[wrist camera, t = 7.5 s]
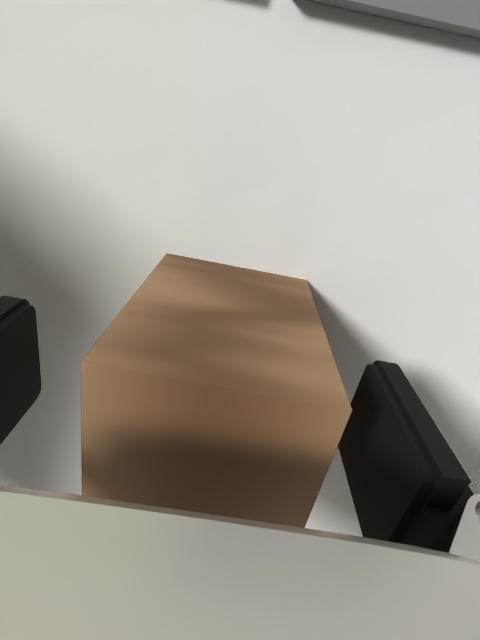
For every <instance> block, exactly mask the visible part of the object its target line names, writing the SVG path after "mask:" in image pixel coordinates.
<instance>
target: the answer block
mask: <svg viewBox="0 0 480 640" xmlns="http://www.w3.org/2000/svg"><path fill="white" fill-rule="evenodd" d="M351 412H352V408H351V405H350V402H349V399H348V397H347V394H346V391H345V388H344V385H343V382H342V379H341V376H340V374H339V371H338V368H337V365H336V362H335V359H334V356H333V353H332V351H331V348H330V345H329V342H328V339H327V336H326V333H325V330H324V328H323V325H322V322H321V319H320V316H319V313H318V310H317V307H316V305H315V302H314V299H313V296H312V293H311V290H310V287H309V284H308V282H307V280H303V279H298V278H293V277H287V276H282V275H277V274H272V273H266V272H261V271H256V270H251V269H246V268H240V267H235V266H230V265H225V264H219V263H214V262H209V261H204V260H199V259H193V258H188V257H183V256H178V255H173V254H166V255H165V256H164V258H163V259H162V260H161V261H160V263H159V264H158V265H157V266H156V268H155V269H154V270H153V271H152V273H151V274H150V275H149V276H148V278H147V279H146V280H145V282H144V283H143V284H142V285H141V287H140V288H139V289H138V290H137V292H136V293H135V294H134V295H133V297H132V298H131V299H130V300H129V302H128V303H127V304H126V306H125V307H124V308H123V309H122V311H121V312H120V313H119V314H118V316H117V317H116V318H115V319H114V321H113V322H112V323H111V324H110V326H109V327H108V328H107V330H106V331H105V332H104V333H103V335H102V336H101V337H100V338H99V340H98V341H97V342H96V343H95V345H94V346H93V347H92V348H91V350H90V351H89V352H88V354H87V355H86V356H85V357H84V359H83V360H82V361H81V447H82V496H86V497H93V498H100V499H107V500H114V501H121V502H128V503H135V504H143V505H150V506H157V507H164V508H171V509H178V510H184V511H191V512H198V513H205V514H212V515H219V516H226V517H233V518H240V519H246V520H253V521H260V522H267V523H273V524H280V525H287V526H293V527H300V528H304V527H305V525H306V522H307V520H308V517H309V515H310V513H311V510H312V508H313V505H314V503H315V500H316V498H317V495H318V493H319V490H320V488H321V485H322V483H323V481H324V478H325V476H326V473H327V471H328V468H329V466H330V463H331V461H332V458H333V456H334V454H335V451H336V449H337V446H338V444H339V441H340V439H341V436H342V434H343V431H344V429H345V427H346V424H347V422H348V419H349V417H350V414H351Z"/></svg>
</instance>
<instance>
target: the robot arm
mask: <svg viewBox="0 0 480 640" xmlns="http://www.w3.org/2000/svg"><path fill="white" fill-rule="evenodd" d="M40 390H41V375H40V362H39V349H38V336H37V323H36V311H35V308H34V307H33V306H30V304H29V302H28V301H27V300H26V299H20V298H14V297H9V296H1V297H0V444H1V443H2V442H3V441H4V439H5V438H6V437H7V436H8V434H9V433H10V432H11V430H12V429H13V428H14V427H15V425H16V424H17V423H18V422H19V420H20V419H21V418H22V417H23V415H24V414H25V413H26V412H27V410H28V409H29V408H30V407H31V405H32V404H33V403H34V401H35V400H36V399H37V397H38V396H39V394H40ZM350 405H351V408H352V412H351V414H350V417H349V419H348V422H347V424H346V427H345V429H344V431H343V434H342V436H341V439H340V441H339V444H338V447H339V451H340V455H341V458H342V462H343V466H344V469H345V473H346V476H347V480H348V484H349V487H350V491H351V495H352V498H353V502H354V505H355V509H356V513H357V516H358V520H359V524H360V527H361V531H362V534H363V537H359V536H353V535H347V534H340V533H334V532H327V531H320V530H314V529H307V528H300V527H293V526H287V525H280V524H273V523H267V522H260V521H253V520H246V519H240V518H233V517H226V516H219V515H212V514H205V513H198V512H191V511H184V510H178V509H171V508H164V507H157V506H150V505H143V504H135V503H128V502H121V501H114V500H107V499H100V498H93V497H86V496H79V495H71V494H64V493H57V492H50V491H42V490H35V489H28V488H21V487H13V486H6V485H0V640H480V494H476V495H474V494H473V493H472V491H471V489H470V488H469V486H468V485H469V484H470V482H471V481H470V479H469V477H468V476H467V474H466V473H465V471H464V469H463V468H462V466H461V465H460V463H459V461H458V460H457V458H456V457H455V455H454V453H453V452H452V450H451V449H450V447H449V445H448V444H447V442H446V441H445V439H444V437H443V436H442V434H441V433H440V431H439V429H438V428H437V426H436V425H435V423H434V421H433V420H432V418H431V417H430V415H429V413H428V412H427V410H426V409H425V407H424V405H423V404H422V402H421V401H420V399H419V397H418V396H417V394H416V393H415V391H414V389H413V388H412V386H411V385H410V383H409V381H408V380H407V378H406V377H405V375H404V373H403V372H402V370H401V369H400V367H399V366H398V365H397V364H395V363H389V362H383V361H378V360H377V361H375V362H374V363H373V364H372V365H371V364H369V365H367V366H366V368H365V370H364V373H363V375H362V378H361V380H360V382H359V385H358V387H357V390H356V392H355V395H354V397H353V399H352V402H351V404H350Z"/></svg>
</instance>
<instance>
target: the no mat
mask: <svg viewBox="0 0 480 640" xmlns="http://www.w3.org/2000/svg"><path fill="white" fill-rule="evenodd" d="M310 1H315V2H319V3H323V4H328V5H332V6H337V7H341V8H346V9H350V10H355V11H359V12H364V13H368V14H372V15H377V16H381V17H386V18H390V19H395V20H399V21H404V22H408V23H412V24H417V25H421V26H426V27H430V28H435V29H439V30H444V31H448V32H453V33H457V34H461V35H466V36H470V37H475V38H479V39H480V0H310Z"/></svg>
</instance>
